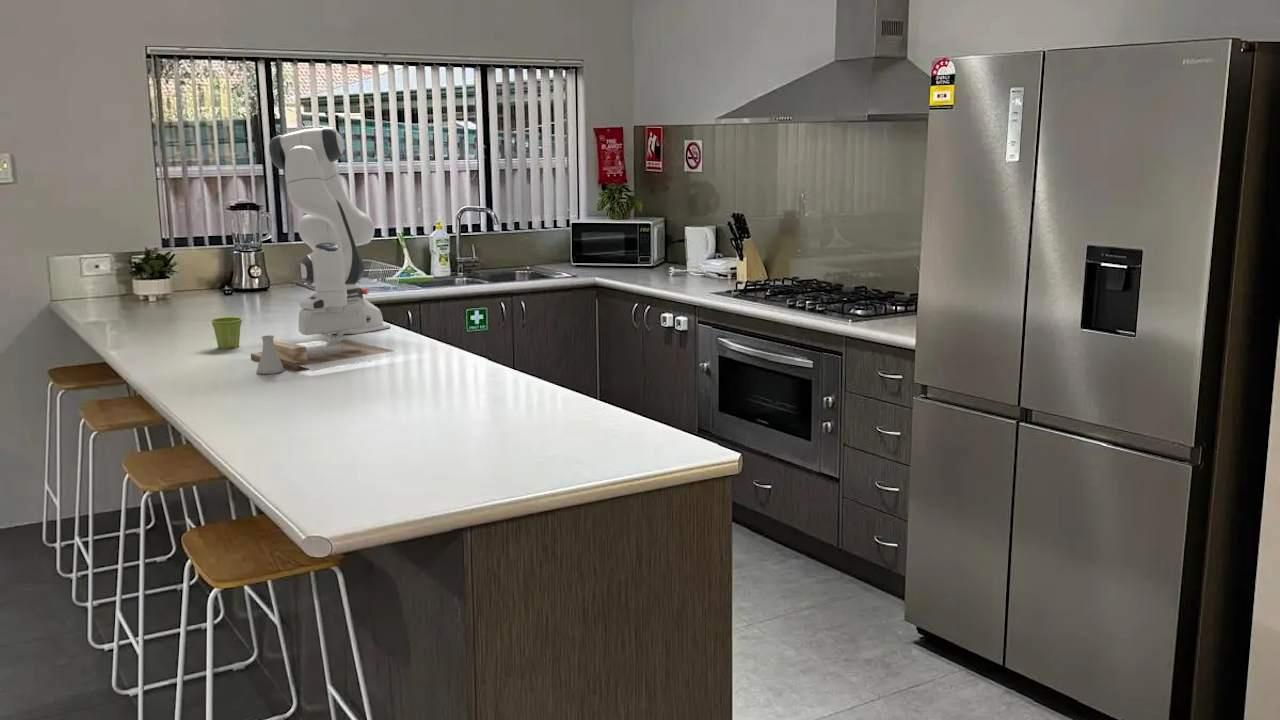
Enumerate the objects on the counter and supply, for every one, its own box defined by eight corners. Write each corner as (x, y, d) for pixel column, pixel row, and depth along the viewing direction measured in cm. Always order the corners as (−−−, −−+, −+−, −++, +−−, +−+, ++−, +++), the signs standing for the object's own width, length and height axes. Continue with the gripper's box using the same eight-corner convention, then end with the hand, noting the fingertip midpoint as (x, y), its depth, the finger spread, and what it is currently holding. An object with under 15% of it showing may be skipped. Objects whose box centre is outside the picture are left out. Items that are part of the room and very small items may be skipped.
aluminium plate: (320, 348, 341) (320, 340, 340) (340, 353, 332) (340, 344, 332) (282, 354, 333) (281, 345, 332) (302, 359, 324) (301, 350, 324)
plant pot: (250, 344, 359) (247, 316, 357) (236, 350, 350) (234, 321, 348) (221, 344, 360) (218, 317, 358) (207, 350, 351) (204, 321, 349)
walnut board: (347, 344, 356) (346, 339, 355) (395, 355, 335) (394, 350, 335) (250, 358, 335) (250, 353, 335) (296, 371, 315) (295, 366, 314)
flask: (276, 375, 311) (273, 338, 309) (251, 374, 312) (248, 338, 310) (289, 369, 318) (286, 334, 316) (265, 369, 319) (262, 333, 317)
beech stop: (277, 352, 335) (276, 339, 334) (307, 360, 322) (306, 346, 321) (264, 354, 332) (263, 341, 332) (294, 362, 319) (292, 348, 319)
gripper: (358, 295, 344) (360, 340, 346) (294, 302, 330) (297, 350, 333) (368, 296, 339) (371, 343, 342) (304, 304, 326) (308, 352, 328)
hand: (334, 346), depth 337 cm, fingers closed
